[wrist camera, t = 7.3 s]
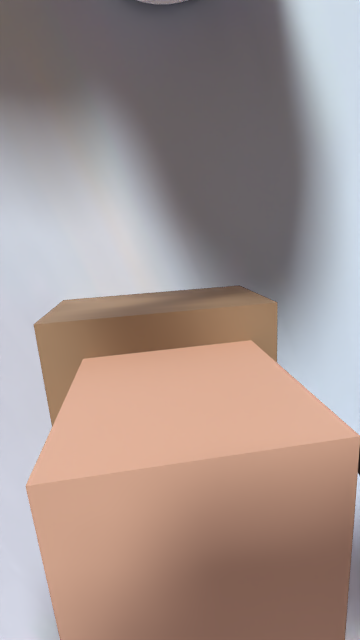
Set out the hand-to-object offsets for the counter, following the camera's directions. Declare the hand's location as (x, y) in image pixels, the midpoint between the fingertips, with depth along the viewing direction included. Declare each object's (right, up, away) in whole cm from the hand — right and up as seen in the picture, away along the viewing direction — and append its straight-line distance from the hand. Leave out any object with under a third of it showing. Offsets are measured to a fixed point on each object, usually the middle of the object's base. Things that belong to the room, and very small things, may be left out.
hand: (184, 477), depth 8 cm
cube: (0, +1, +2) cm, 3 cm away
